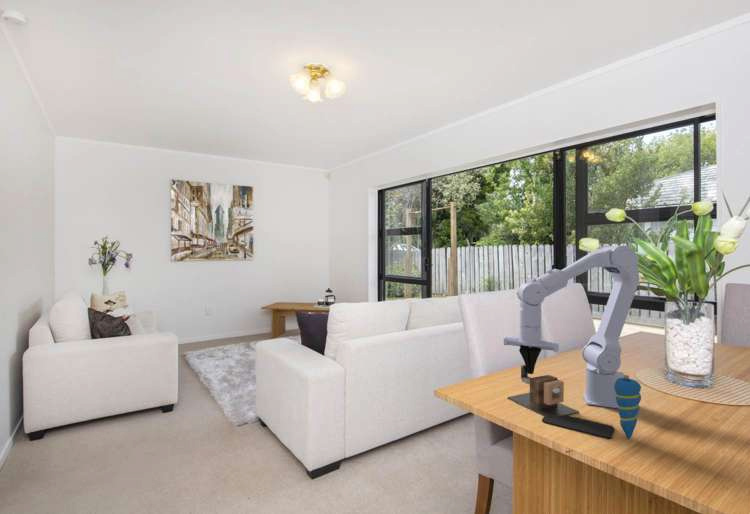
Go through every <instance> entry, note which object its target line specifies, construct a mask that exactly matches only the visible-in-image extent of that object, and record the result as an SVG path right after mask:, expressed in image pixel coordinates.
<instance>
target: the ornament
mask: <svg viewBox="0 0 750 514" xmlns="http://www.w3.org/2000/svg"><path fill="white" fill-rule="evenodd" d="M614 389H615V392H616V394H617V396H616V402H617V404H618V406H619V408H617V412H618V414H619V423H620V426H621V429H622V432H623V433H624V434H625V437H626V439H628V440H630V439H631V438H632V436H633V434H634V431H635V428H636V425H637V422H638V414H639V411H640V405H639V404H640V403H641V401H642V395H641V390H642V385H641V383H639V382H638V381H637V380H635V379H632V378H630V375H629V373H628V374H624V378H619V379H617V380H616V382H615V385H614Z"/></svg>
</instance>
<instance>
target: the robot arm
mask: <svg viewBox="0 0 750 514" xmlns="http://www.w3.org/2000/svg"><path fill="white" fill-rule="evenodd" d="M639 261H640V257H639V256H638V254H637V252H636V251H635V250H634V249H633V247H631V246H629V245H624V244H623V245H622V244H621V245H603V246H601V247H599V248H597V249H594V250H592V251H590V252H589V253H587V254H586V255H585V256H582V257H581V258H579V259H578V260H576V261H575V262H572V263H571V264H569V265H567V266H566V267H564V268H563V269H557V268H553V269H552V268H548V269H546V270H545V273H544V274H542V275H540V276H538V277H537V278H535V277H533V278H532V279H531V280H530V281H531V282H524V283H522V284H521V285H519V288H518V289H517V291H516V296H517V298H518V299H519V337H508V336H506V337H504V338H503V346H514V347H515V346H516V347H519V349H518V351H519V353H520V355H521V357H522V360H523V362H524V365H526V369H527V374H528V375H533V374H534V372H535V367H536V364H537V361H538V357H539V356H540V354H541V352H542V350H545V351H553V352H556V353H558V352H559V351H560V343H557V342H552V341H546V340H542V303H543V302H544V300H545V299H546V298H547V297H549V296H550V295H552V294H554V293H556V292H559V291H560V290H562V289H564V288H566V287H567V285H568V282H569V280H571V279H573V278H576V277H577V276H579V275H581V274H584V273H586V272H588V271H590V270H592V269H594V268H603V269H604V270H605V271H607V272H608V273H609V275H610V276H611V278H612V279H613V281H614V283H613V286H612V289H611V292H610V293H609V294H610V295H609V297H608V300H607V302H606V306H605V309H604V311H603V314H602V318H601V320H600V323H599V326H598V328H597V332H596V333H595V334H593V335H592V336H591V337H590V338H589V341H588V343H587V344H585V345H584V347H583V348H582V350H581V356H582V358H583V360H584V361H585V363H586V364H585V392H583V393H582V396H583V399H584V401H585V404H586V405H589V406H598V407H606V408H614V409H618V408H619V406H618V404H617V402H616V396H617V394H616V392H615V389H614V385H615V382H616V380H617V379H619V378H624V375H625V373H624V372H622V371H618V370H619V369H620V367H621V364H622V360H621V354H622V350H623V349H622V347H621V344H620V342H619V341H620V340H619V339H620V337H621V334H622V331H623V329H624V326H625V323H626V320H627V318H628V314H629V311H630V308H631V306H632V303H633V300H634V297H635V294H636V292H637V289H638V286H639V283H640V272H639V266H638V263H639Z"/></svg>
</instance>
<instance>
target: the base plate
mask: <svg viewBox="0 0 750 514" xmlns="http://www.w3.org/2000/svg"><path fill="white" fill-rule="evenodd" d="M507 399H508V400H510V401H512V402H513V403H516V404H517V405H520V406H522V407H524V408H526V409H529V410H530V411H532V412H534V413H536V414H538V415H540V416H542V417H544V416H547V417H549V418H555V417H559V416H563V415H568V416H572V415H576V414H580V411H579V410H576V409H574V408H572V407H570V406H567V405H566V404H563V403H562V402H561V403H558V405H554V406H550V407H545V408H541V409H537V408H535V407H533V406H531V405H530V392H526V393H520V394H515V395H511V396H507Z"/></svg>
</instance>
